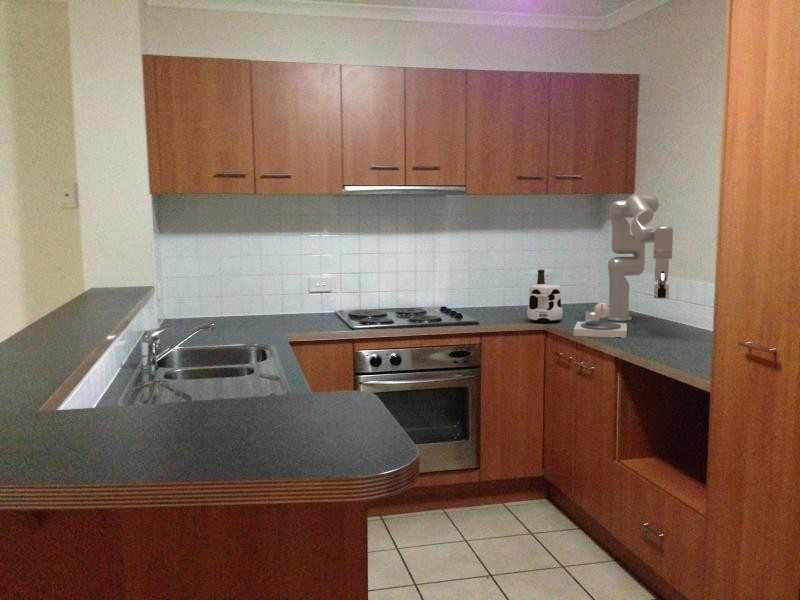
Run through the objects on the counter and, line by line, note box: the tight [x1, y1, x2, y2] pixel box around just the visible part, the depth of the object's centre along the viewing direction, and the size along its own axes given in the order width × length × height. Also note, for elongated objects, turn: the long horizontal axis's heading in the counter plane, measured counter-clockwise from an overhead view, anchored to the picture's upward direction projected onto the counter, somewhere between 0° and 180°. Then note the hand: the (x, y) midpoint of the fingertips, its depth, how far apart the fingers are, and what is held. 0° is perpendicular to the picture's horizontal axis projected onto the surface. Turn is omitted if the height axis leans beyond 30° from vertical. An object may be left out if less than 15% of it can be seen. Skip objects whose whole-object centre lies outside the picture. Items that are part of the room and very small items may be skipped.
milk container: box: [526, 283, 564, 323], centre depth 339 cm, size 17×17×18 cm
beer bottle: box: [536, 269, 546, 284], centre depth 364 cm, size 8×8×24 cm
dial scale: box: [573, 302, 628, 339], centre depth 304 cm, size 22×22×12 cm
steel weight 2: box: [653, 283, 670, 300], centre depth 295 cm, size 6×6×6 cm
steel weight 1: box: [584, 311, 599, 326], centre depth 304 cm, size 6×6×6 cm
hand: (661, 296), depth 295 cm, fingers closed on steel weight 2, 6 cm apart
